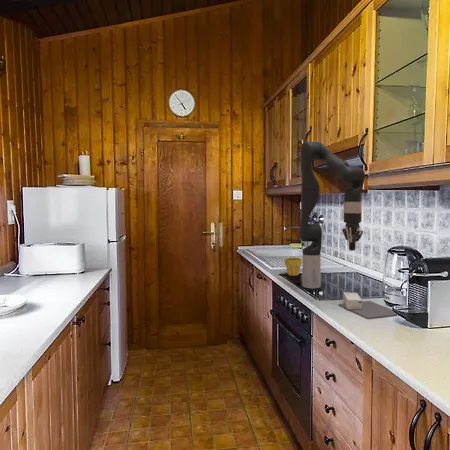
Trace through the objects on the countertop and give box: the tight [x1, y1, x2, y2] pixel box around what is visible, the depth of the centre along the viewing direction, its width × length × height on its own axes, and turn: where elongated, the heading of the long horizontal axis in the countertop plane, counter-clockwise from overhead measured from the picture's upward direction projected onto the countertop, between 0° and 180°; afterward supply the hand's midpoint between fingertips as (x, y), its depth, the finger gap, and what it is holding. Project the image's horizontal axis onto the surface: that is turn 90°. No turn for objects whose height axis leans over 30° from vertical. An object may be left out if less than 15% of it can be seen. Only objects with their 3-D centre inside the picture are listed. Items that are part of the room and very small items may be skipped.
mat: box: [338, 300, 397, 320], centre depth 158 cm, size 20×16×1 cm
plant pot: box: [284, 257, 303, 277], centre depth 233 cm, size 10×10×10 cm
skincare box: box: [342, 291, 363, 310], centre depth 163 cm, size 6×4×12 cm
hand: (352, 250), depth 171 cm, fingers closed
